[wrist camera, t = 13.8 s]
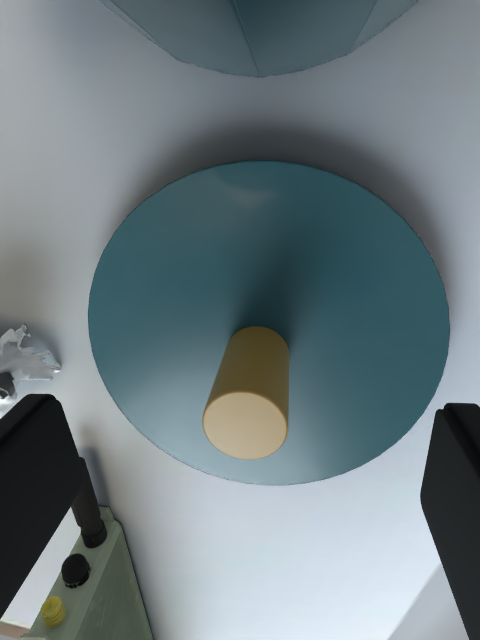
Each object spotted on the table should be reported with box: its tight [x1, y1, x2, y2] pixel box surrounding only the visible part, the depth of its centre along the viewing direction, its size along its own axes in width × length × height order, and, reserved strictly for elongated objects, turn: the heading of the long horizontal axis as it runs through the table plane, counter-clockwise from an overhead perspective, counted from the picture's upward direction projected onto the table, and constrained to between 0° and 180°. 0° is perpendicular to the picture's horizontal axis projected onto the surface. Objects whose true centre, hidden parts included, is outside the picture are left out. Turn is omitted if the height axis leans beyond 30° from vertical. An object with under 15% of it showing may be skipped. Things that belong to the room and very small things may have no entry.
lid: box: [88, 160, 450, 485], centre depth 13 cm, size 15×15×6 cm
